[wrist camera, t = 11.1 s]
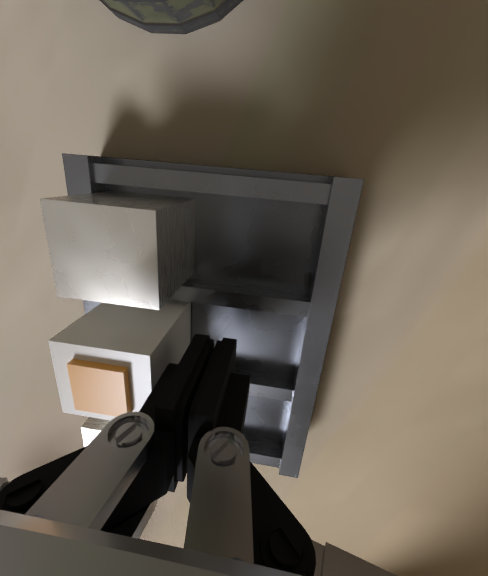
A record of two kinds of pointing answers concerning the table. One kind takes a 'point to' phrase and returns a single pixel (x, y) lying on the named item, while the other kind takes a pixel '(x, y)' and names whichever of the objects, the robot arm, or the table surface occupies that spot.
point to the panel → (215, 270)
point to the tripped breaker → (117, 356)
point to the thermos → (171, 13)
